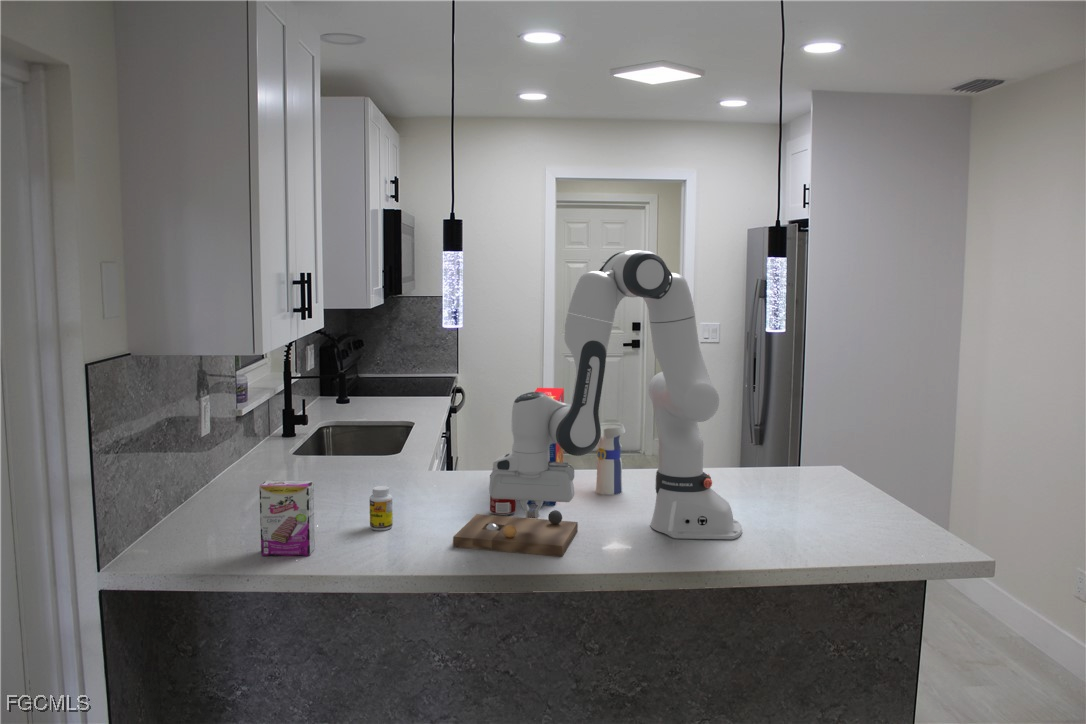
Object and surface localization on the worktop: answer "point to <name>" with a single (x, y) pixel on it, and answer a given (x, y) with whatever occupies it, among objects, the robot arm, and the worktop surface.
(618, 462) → the white tall bottle
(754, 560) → the worktop surface
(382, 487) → the supplement bottle
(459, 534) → the board
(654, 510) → the robot arm
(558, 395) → the pasta box
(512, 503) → the soda can
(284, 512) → the candy bar box
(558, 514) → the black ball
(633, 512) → the worktop surface
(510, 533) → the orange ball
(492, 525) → the steel ball
